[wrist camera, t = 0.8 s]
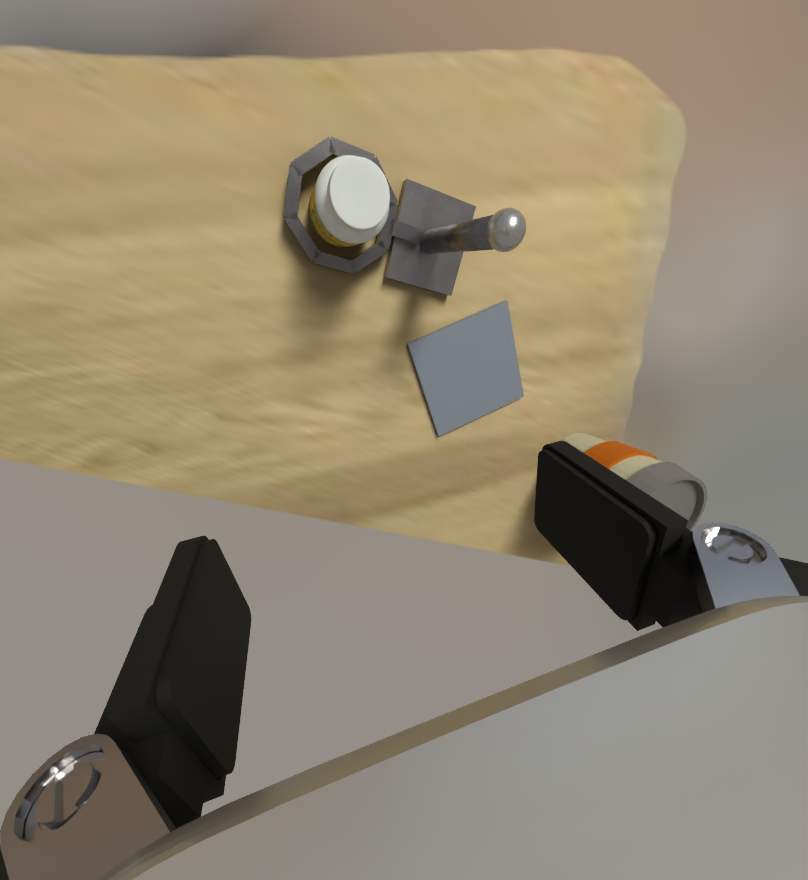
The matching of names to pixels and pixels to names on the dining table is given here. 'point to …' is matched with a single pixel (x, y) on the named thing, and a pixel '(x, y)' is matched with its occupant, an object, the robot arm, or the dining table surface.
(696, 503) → the reusable coffee cup
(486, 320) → the rubber mat
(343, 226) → the supplement bottle
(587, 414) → the dining table surface
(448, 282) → the ring stand
